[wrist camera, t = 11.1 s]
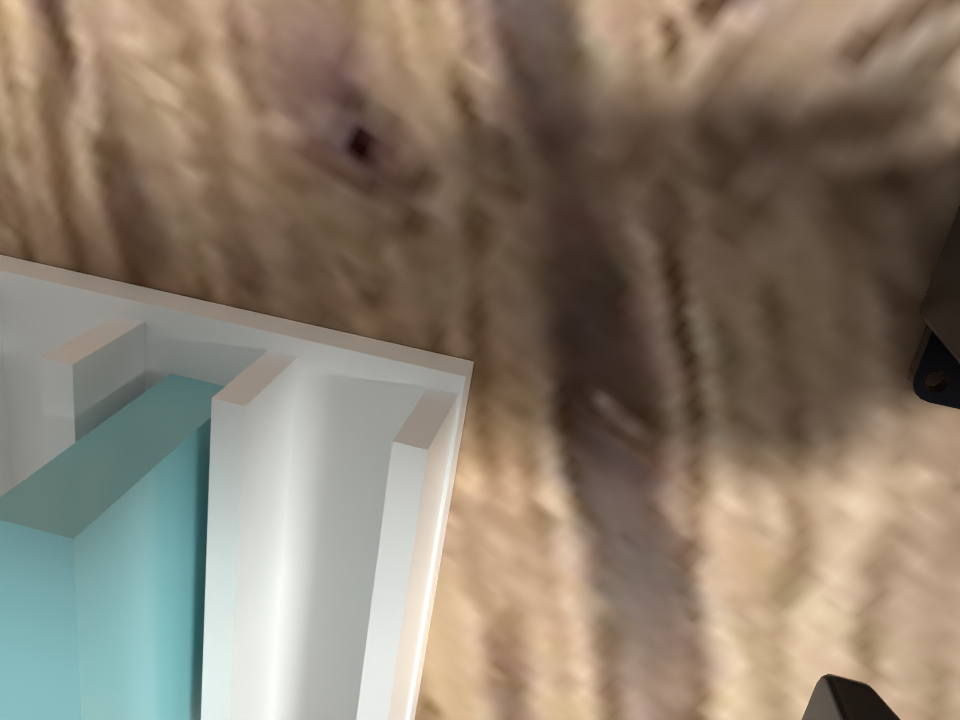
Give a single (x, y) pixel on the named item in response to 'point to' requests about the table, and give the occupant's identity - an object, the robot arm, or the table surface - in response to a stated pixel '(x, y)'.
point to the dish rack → (264, 478)
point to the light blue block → (111, 568)
